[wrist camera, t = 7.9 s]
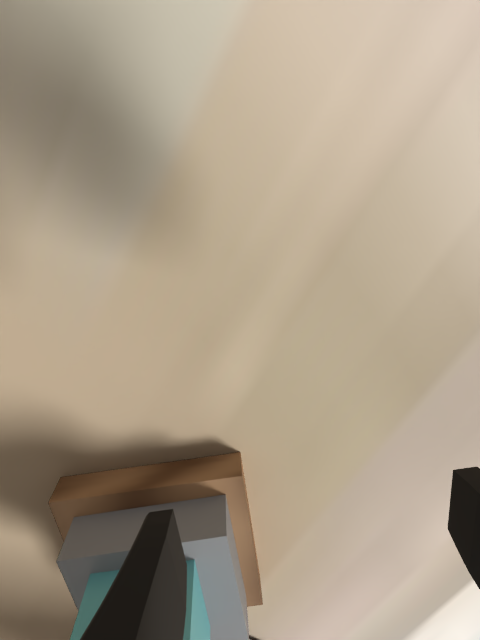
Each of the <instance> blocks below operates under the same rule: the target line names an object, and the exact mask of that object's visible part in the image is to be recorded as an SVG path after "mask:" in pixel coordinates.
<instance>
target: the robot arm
mask: <svg viewBox="0 0 480 640" xmlns="http://www.w3.org/2000/svg"><path fill="white" fill-rule="evenodd" d="M448 530H449V532H450V535H451V537H452V539H453V541H454V543H455V545H456V547H457V549H458V551H459V553H460V555H461V557H462V559H463V561H464V563H465V565H466V567H467V569H468V571H469V573H470V574H471V576H472V578H473V579H474V581H475V583H476V584H477V586H478V587H479V589H480V469H479V468H478V467H472V468H464V469H457V470H453V478H452V488H451V499H450V510H449V520H448ZM186 599H187V563H186V559H185V555H184V551H183V547H182V543H181V539H180V535H179V531H178V527H177V523H176V519H175V515H174V510H173V509H168V510H161V511H154V512H149V513H148V514H147V515H146V517H145V519H144V521H143V524H142V526H141V528H140V530H139V532H138V534H137V537H136V539H135V541H134V543H133V545H132V547H131V549H130V551H129V553H128V555H127V557H126V559H125V561H124V563H123V565H122V567H121V568H120V570H119V572H118V574H117V576H116V578H115V580H114V581H113V583H112V585H111V587H110V589H109V591H108V592H107V594H106V596H105V598H104V600H103V601H102V603H101V605H100V607H99V608H98V610H97V612H96V613H95V615H94V617H93V618H92V620H91V622H90V623H89V625H88V627H87V628H86V630H85V632H84V633H83V635H82V637H81V638H80V640H183V636H184V627H185V618H186ZM249 640H251V639H249Z"/></svg>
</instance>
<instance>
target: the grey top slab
mask: <svg viewBox="0 0 480 640" xmlns="http://www.w3.org/2000/svg"><path fill="white" fill-rule="evenodd" d="M168 509H173V510H174V515H175V519H176V523H177V527H178V531H179V535H180V539H181V543H182V547H183V551H184V555H185V559H186V561H187V560H194V559H195V564H196V568H197V572H198V576H199V581H200V585H201V589H202V593H203V598H204V602H205V606H206V610H207V615H208V619H209V623H210V640H249V630H248V616H247V601H246V593H245V588H244V583H243V578H242V573H241V568H240V563H239V558H238V553H237V548H236V543H235V539H234V534H233V529H232V524H231V519H230V514H229V509H228V504H227V499H226V494H225V495H218V496H212V497H205V498H198V499H192V500H185V501H178V502H172V503H165V504H159V505H152V506H145V507H139V508H132V509H125V510H119V511H112V512H105V513H99V514H92V515H85V516H79V517H74V518H73V521H72V523H71V526H70V528H69V531H68V533H67V536H66V538H65V541H64V543H63V546H62V548H61V551H60V553H59V556H58V558H57V561H56V562H57V564H58V566H59V569H60V571H61V573H62V575H63V578H64V580H65V582H66V584H67V586H68V589H69V591H70V593H71V595H72V598H73V600H74V602H75V604H76V607H77V609H78V611H79V608H80V605H81V602H82V599H83V595H84V592H85V589H86V585H87V582H88V579H89V576H90V574H92V573H99V572H107V571H114V570H120V568H121V567H122V565H123V563H124V561H125V559H126V557H127V555H128V553H129V551H130V549H131V547H132V545H133V543H134V541H135V539H136V537H137V534H138V532H139V530H140V528H141V526H142V524H143V521H144V519H145V517H146V515H147V514H148V513H149V512H154V511H161V510H168Z"/></svg>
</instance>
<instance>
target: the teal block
mask: <svg viewBox="0 0 480 640" xmlns="http://www.w3.org/2000/svg"><path fill="white" fill-rule="evenodd" d="M186 563H187V599H186V618H185V627H184V636H183V640H210V623H209V619H208V615H207V610H206V606H205V602H204V598H203V593H202V589H201V585H200V581H199V576H198V572H197V568H196V564H195V559H194V560H187V561H186ZM118 572H119V570H114V571H107V572H99V573H92V574H90V576H89V579H88V582H87V585H86V589H85V592H84V595H83V599H82V602H81V605H80V608H79V612H78V615H77V618H76V621H75V625H74V628H73V631H72V634H71V638H70V640H80V638H81V637H82V635H83V633H84V632H85V630H86V628H87V627H88V625H89V623H90V622H91V620H92V618H93V617H94V615H95V613H96V612H97V610H98V608H99V607H100V605H101V603H102V601H103V600H104V598H105V596H106V594H107V592H108V591H109V589H110V587H111V585H112V583H113V581H114V580H115V578H116V576H117V574H118Z"/></svg>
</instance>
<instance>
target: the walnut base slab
mask: <svg viewBox="0 0 480 640" xmlns="http://www.w3.org/2000/svg"><path fill="white" fill-rule="evenodd" d="M225 494H226V499H227V504H228V509H229V514H230V519H231V524H232V529H233V534H234V539H235V543H236V548H237V553H238V558H239V563H240V568H241V573H242V578H243V583H244V588H245V593H246V601H247V607H248V606H255V605H262V604H263V602H262V593H261V583H260V574H259V568H258V561H257V555H256V549H255V542H254V536H253V530H252V523H251V517H250V511H249V504H248V498H247V491H246V485H245V479H244V472H243V466H242V460H241V453H240V452H238V453H230V454H223V455H216V456H209V457H202V458H195V459H188V460H180V461H173V462H166V463H159V464H152V465H145V466H138V467H131V468H123V469H116V470H109V471H102V472H95V473H88V474H81V475H73V476H66V477H61V478H60V480H59V482H58V484H57V486H56V488H55V490H54V492H53V494H52V496H51V498H50V500H49V502H48V503H49V506H50V508H51V511H52V513H53V516H54V518H55V521H56V523H57V526H58V528H59V531H60V533H61V536H62V538H63V541H65V538H66V536H67V533H68V531H69V528H70V526H71V523H72V521H73V518H74V517H79V516H85V515H92V514H99V513H105V512H112V511H119V510H125V509H132V508H139V507H145V506H152V505H159V504H165V503H172V502H178V501H185V500H192V499H198V498H205V497H212V496H218V495H225Z"/></svg>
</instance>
